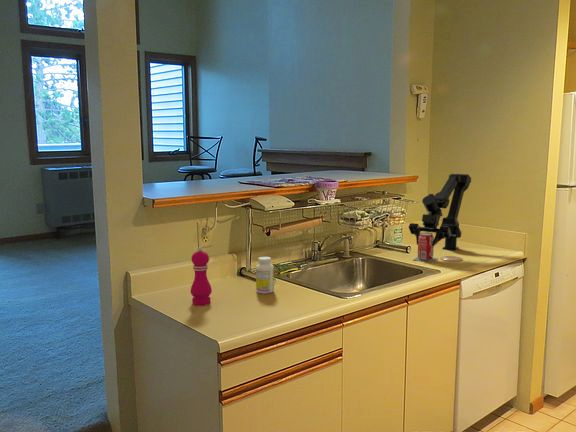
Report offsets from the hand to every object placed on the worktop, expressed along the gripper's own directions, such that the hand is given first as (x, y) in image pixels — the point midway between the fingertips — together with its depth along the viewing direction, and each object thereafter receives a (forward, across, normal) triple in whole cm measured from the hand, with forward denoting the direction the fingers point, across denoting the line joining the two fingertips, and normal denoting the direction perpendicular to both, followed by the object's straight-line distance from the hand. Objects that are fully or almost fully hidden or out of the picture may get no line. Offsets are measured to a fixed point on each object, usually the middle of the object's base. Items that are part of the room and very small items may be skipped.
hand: (424, 245), depth 251 cm
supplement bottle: (+61, -34, -51) cm, 87 cm away
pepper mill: (+78, -45, -67) cm, 112 cm away
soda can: (+4, 0, +6) cm, 7 cm away
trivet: (-1, +10, +11) cm, 15 cm away
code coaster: (+4, 0, +6) cm, 7 cm away
